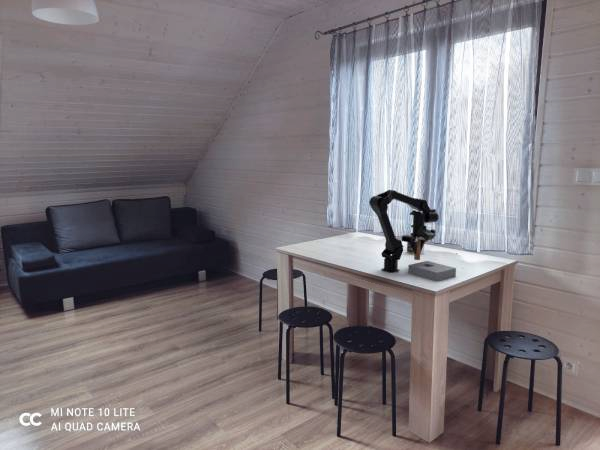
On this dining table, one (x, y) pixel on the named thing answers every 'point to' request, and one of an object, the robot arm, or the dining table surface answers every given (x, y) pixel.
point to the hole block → (432, 270)
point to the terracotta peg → (418, 251)
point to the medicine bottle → (412, 250)
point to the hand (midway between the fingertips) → (417, 253)
